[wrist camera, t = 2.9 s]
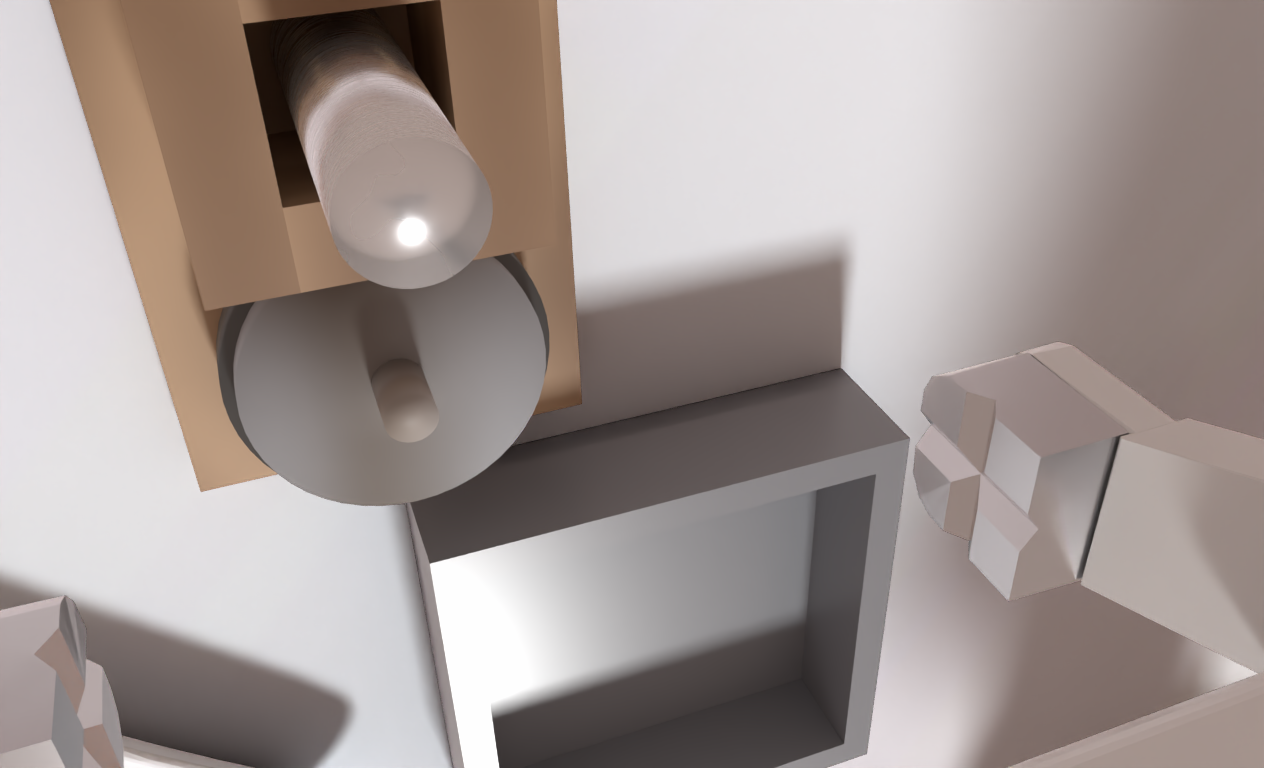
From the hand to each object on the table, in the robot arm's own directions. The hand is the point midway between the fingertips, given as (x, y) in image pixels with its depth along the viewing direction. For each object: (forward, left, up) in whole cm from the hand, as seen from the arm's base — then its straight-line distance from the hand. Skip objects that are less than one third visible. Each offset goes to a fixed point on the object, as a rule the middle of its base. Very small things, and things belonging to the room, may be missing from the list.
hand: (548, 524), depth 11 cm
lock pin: (0, 0, -17) cm, 17 cm away
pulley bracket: (0, +4, -18) cm, 18 cm away
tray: (-7, +20, -18) cm, 28 cm away
